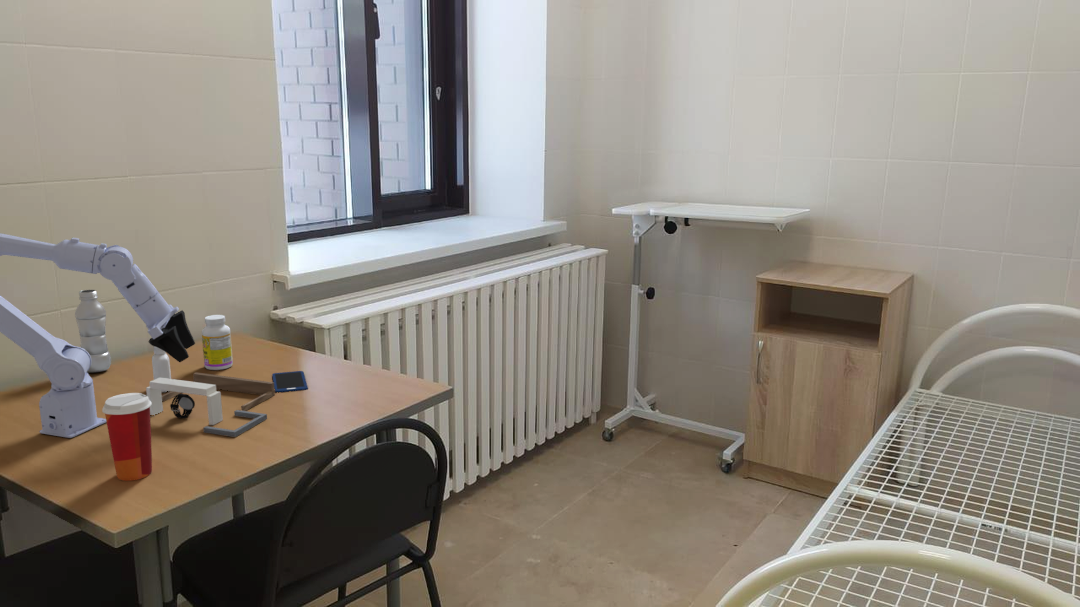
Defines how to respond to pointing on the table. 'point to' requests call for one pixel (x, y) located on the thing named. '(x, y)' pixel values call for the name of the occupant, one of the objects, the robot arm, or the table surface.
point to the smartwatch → (182, 405)
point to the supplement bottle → (216, 343)
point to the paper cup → (130, 434)
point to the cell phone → (289, 381)
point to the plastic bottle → (93, 330)
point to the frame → (233, 433)
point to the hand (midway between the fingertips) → (187, 352)
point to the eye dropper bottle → (160, 365)
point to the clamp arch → (185, 387)
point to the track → (234, 387)
